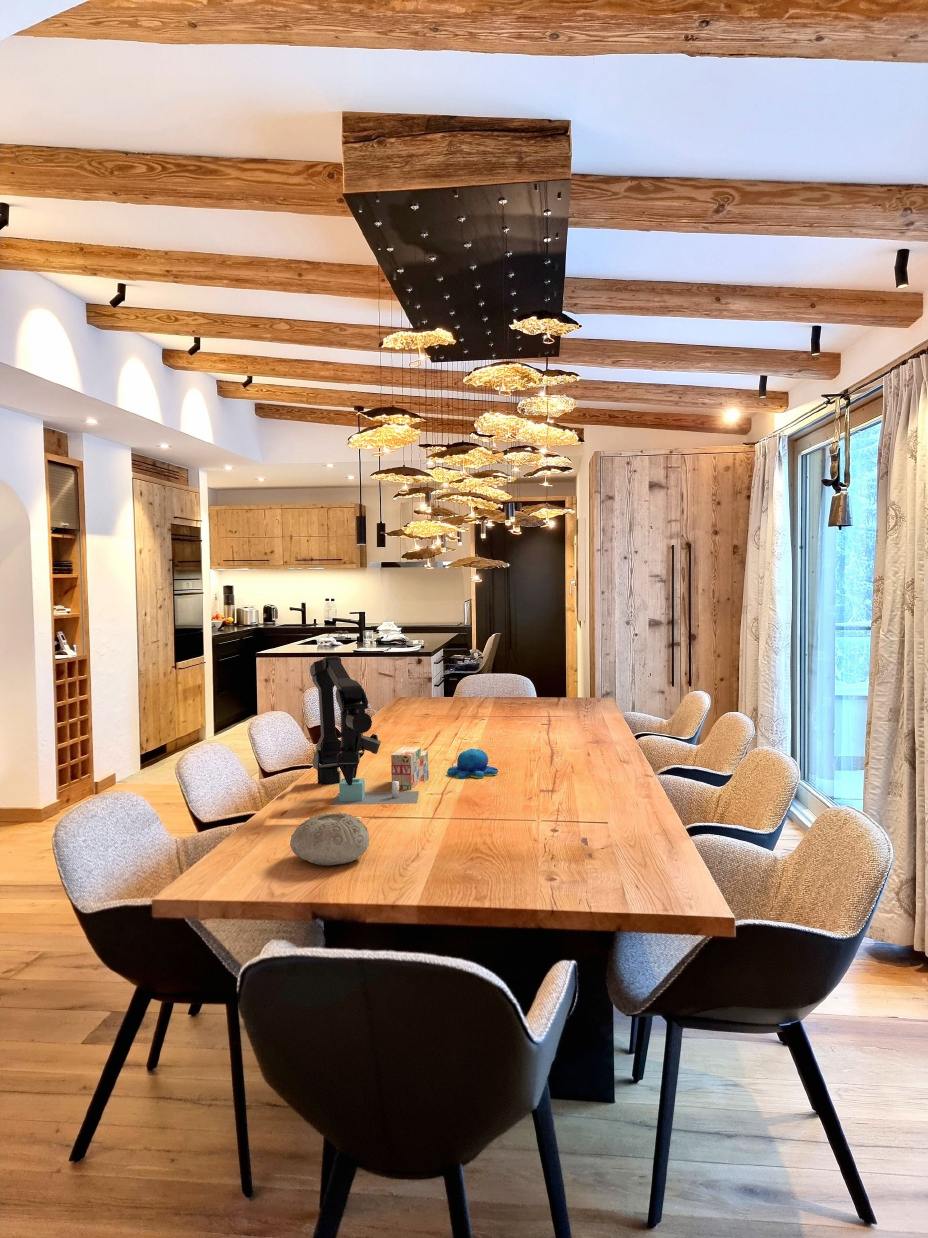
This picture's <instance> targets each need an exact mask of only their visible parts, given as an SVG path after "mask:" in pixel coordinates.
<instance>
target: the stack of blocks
mask: <svg viewBox="0 0 928 1238" xmlns="http://www.w3.org/2000/svg"><path fill="white" fill-rule="evenodd" d="M428 753H429V751H428V750H421V747H420V746H401V747H400V748H398V749H397V750H396V751H395V752H393V753H391V754H390V760H391V766H390V767H391V770H390V771H391V783H392V782H393V781H398V782H399V790H407V791H411V790H412V791H413V789H415V787H416V786H417V785H419V784H420V782H423V783H424V782H425V783H426V782H427V781H428V780H429V778H430V777H429V754H428Z"/></svg>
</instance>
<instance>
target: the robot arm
mask: <svg viewBox="0 0 928 1238" xmlns="http://www.w3.org/2000/svg"><path fill="white" fill-rule="evenodd" d="M309 674H310V677H311V678H312V679H311V680H312V683H313V684H314V686H315V687H316V689H317V694H318V708H319V709H318V710H319V727H320V737H319V739H318V742H317V743H316V750H315V752H314V755H313V759H312V767H313V769H315V770H316V771H317V785H324V786H325V785H334V784H335V785H336V784H339V783H340V782H341V780H342V777H341V776H342V775H343V779H345V780H346V782H347V784H348V785H349V786H350V785H352V782H353V779H357V772H358V768H359V764H360V761H361V760H360V759H361V758H362V757H363V756H364V755H365V752H366V751H367V752H371V754H375V755H377V754H378V752H379V750H380V746H381V743H382V741H381V740H380V739H379V737H378V735H377V734H375V733H372V734H371V735H370V736H368V735H367V736H366V735H364V734H365V733H368V731H370V730H371V728H372V725H373V720H372V717H371V716H370V715H369V714H368V713H366V710H368V709H369V700H368V698H367V694H366V692H365V690H364V688H363V687H362V685H361V684H360V682H358V681H357V680H354V679H352V678H351V676H350V675H349V674H348V672H347V670H346V668H345V666H344V665H343V664H342V659H341V657H340V656H338V655H336V656H335V655H333V656H325V657H322V659H320V660H317V661H314V662H313V663H312V664H311V665H310V667H309ZM334 687H335V688H336V689H335V690H336V691H335V697H334ZM334 698H335V699H334ZM334 700H335V701H336V703H337V704H338V707H339V711H340V732H339V737H340V738H339V737H338V736H337V730H336V716H335V715H336V714H335V712H336V711H335V701H334ZM341 773H342V774H341Z"/></svg>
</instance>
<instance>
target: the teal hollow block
mask: <svg viewBox="0 0 928 1238" xmlns="http://www.w3.org/2000/svg"><path fill="white" fill-rule="evenodd" d="M365 784H366V783H365V778H361V777H360V778H353V782H352V785H350V786H349V785H348V784H347V782H346V780H345V778H341V782H340V783H338V787H339V788H338V790H339V792H338V793H339V795H340V801H363V798H364V796H365V792H366V789H365Z"/></svg>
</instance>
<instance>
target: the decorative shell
mask: <svg viewBox="0 0 928 1238" xmlns="http://www.w3.org/2000/svg"><path fill="white" fill-rule="evenodd" d="M290 836H291V837H290V840H289V846H290V850H291V851H292V852H293V853H294V855H295V856H297V857H298V858H301V859H302V860H304V861H305V860H306V861H308V862H309V863H312V864H315V865H319V866H336V865H345V864H347V863H351V862H353V861H355V860H358V858H359V857H361V856H363V855H364V854H365V853H366V852H367V850H368V848H369V847H370V835H369V830H368V827H366V825H365V824H364V822H362V821H361V819H360V818H359V817H356V816H355V815H354V816H353V815H352V814H350V813H349V814H348V813H345V812H340V811H339V812H336V813H333V812H332V813H327V812H325V813H321V814H318V815H315V816H313V817H312V816H310V818H308V819H306V820H305V821H303V822H302V823H300V824H298V826H296V827H295V830H294V831H293V832H292V834H291V835H290Z"/></svg>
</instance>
